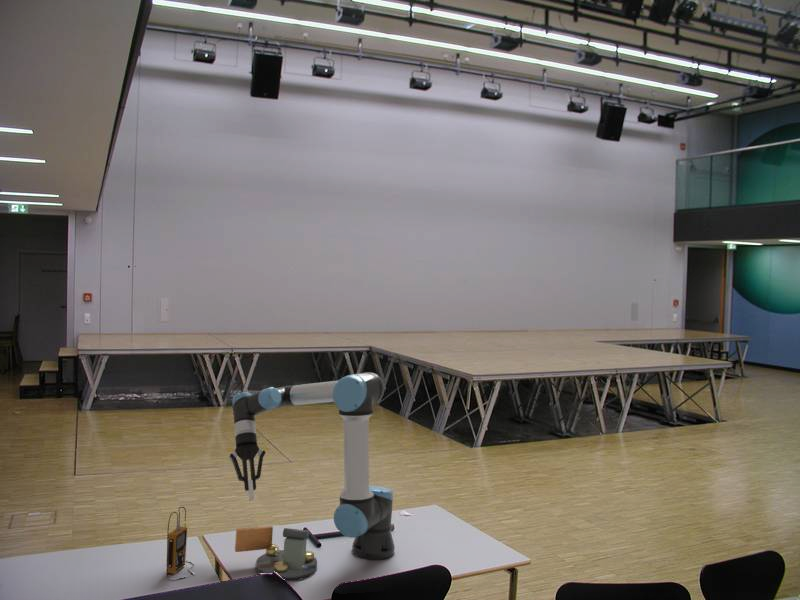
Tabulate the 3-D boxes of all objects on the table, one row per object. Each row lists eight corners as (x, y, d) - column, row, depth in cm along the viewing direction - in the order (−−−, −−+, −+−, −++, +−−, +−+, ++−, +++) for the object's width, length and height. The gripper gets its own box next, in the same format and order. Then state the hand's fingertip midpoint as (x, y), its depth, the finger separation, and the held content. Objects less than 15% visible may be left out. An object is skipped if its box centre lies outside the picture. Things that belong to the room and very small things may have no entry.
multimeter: (189, 583, 217) (192, 519, 216) (159, 579, 219) (163, 515, 218) (211, 565, 231) (214, 505, 231) (183, 561, 233) (186, 501, 233)
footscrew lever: (277, 551, 240) (278, 523, 240) (280, 556, 236) (281, 528, 236) (233, 555, 234) (235, 527, 234) (236, 560, 230) (237, 532, 230)
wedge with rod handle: (308, 562, 233) (310, 527, 233) (303, 569, 227) (305, 533, 227) (284, 560, 234) (286, 525, 234) (279, 567, 228) (281, 531, 228)
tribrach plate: (322, 559, 242) (323, 547, 242) (308, 583, 222) (309, 571, 222) (266, 553, 244) (266, 541, 244) (247, 576, 224) (248, 564, 224)
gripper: (262, 436, 261) (268, 500, 250) (226, 439, 256) (231, 504, 246) (265, 429, 255) (271, 494, 244) (228, 432, 250) (233, 499, 240)
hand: (251, 499), depth 245 cm, fingers closed
